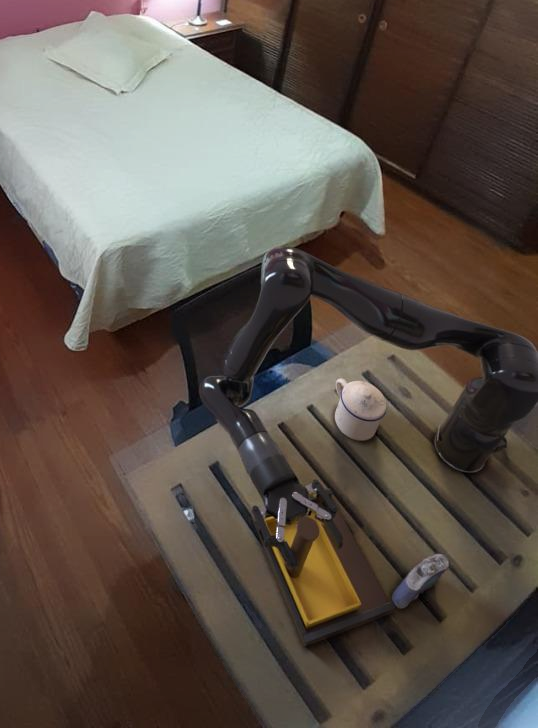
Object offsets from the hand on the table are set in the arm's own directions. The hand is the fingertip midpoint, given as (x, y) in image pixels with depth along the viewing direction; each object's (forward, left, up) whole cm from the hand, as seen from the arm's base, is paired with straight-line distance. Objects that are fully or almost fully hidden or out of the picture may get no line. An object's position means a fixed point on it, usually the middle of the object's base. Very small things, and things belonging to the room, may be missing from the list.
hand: (318, 557), depth 89 cm
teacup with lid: (-25, -25, -11) cm, 37 cm away
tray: (-1, -2, -10) cm, 10 cm away
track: (-3, -2, -11) cm, 12 cm away
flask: (-17, +6, -11) cm, 21 cm away
